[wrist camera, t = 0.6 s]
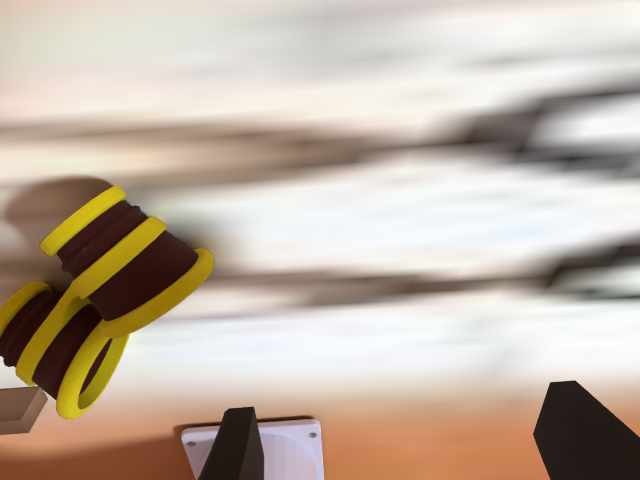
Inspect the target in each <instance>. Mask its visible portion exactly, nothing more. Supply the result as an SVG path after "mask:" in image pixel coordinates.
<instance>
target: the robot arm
mask: <svg viewBox="0 0 640 480" xmlns="http://www.w3.org/2000/svg"><path fill="white" fill-rule="evenodd" d="M533 436H534V438H535V441H536V444H537V446H538V449H539V452H540V454H541V457H542V460H543V462H544V465H545V467H546V470H547V472H548V475H549V477H550V479H551V480H640V437H639V436H638V435H636V434H635V433H634V432H633V431H632V430H631V429H630V428H628V427H627V426H626V425H625V424H624V423H623V422H622V421H620V420H619V419H618V418H617V417H616V416H615V415H614V414H613V413H611V412H610V411H609V410H608V409H607V408H606V407H605V406H603V405H602V404H601V403H600V402H599V401H598V400H597V399H596V398H594V397H593V396H592V395H591V394H590V393H589V392H588V391H587V390H585V389H584V388H583V387H582V386H581V385H580V384H579V383H577V382H576V381H562V382H550V385H549V388H548V391H547V394H546V397H545V400H544V403H543V406H542V409H541V412H540V415H539V418H538V421H537V424H536V427H535V430H534V433H533ZM181 440H182V443H183V446H184V448H185V451H186V454H187V457H188V460H189V463H190V465H191V468H192V471H193V474H194V477H195V479H196V480H324V470H323V456H322V442H321V427H320V422H319V421H318V420H315V419H304V420H290V421H276V422H263V423H257V419H256V414H255V410H254V407H243V408H231V409H228V410H227V411H225V413H224V416H223V419H222V422H221V425H220V426H208V427H194V428H186V429H185V430H183V432H182V435H181Z"/></svg>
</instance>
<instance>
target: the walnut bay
mask: <svg viewBox="0 0 640 480" xmlns="http://www.w3.org/2000/svg"><path fill="white" fill-rule="evenodd" d="M47 400H48V399H47V397H46V395H45V393H44V392H43V390H42V388H40V387H31V388H17V389H2V390H0V435H6V434H20V433H29V432H30V430H31V428H32V426H33V425H34V423H35V421H36V419H37V417H38V416H39V414H40V412H41V410H42V409H43V407H44V405H45V403H46V402H47Z"/></svg>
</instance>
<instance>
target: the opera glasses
mask: <svg viewBox="0 0 640 480" xmlns="http://www.w3.org/2000/svg"><path fill="white" fill-rule="evenodd" d="M125 198H126V194H125V192H124V191H123V190H122V189H121V188H120V187H119V186H113V187H111V188H110V189H108V190H106V191H104V192H103V193H101V194H100V195H98V196H97V197H95V198H94V199H93V200H91V201H90V202H88V203H87V204H86V205H84V206H83V207H82V208H80V209H79V210H78V211H76V212H75V213H74V214H73V215H71V216H70V217H69V218H68V219H66V220H65V221H64V222H63V223H62V224H60V225H59V226H58V227H57V228H56V229H55V230H53V231H52V232H51V233H50V234H49V235H48V236H47V237H46V238H45V239H44V240H43V241H42V242H41V244H40V245H39V247H40V249H41V250H42V251H43V252H44V253H45V254H47V255H49V256H54V255H56V254H57V255H58V256H59V258H60V259H61V261H62V263H63V264H62V270H63V271H69V272H70V273H71V274H72V276H73V277H74V279H75V280H74V281H73V282H72V284H71V285H70V287H69V288H68V290H67V291H66V292H65V293H64V292H57V293H52V290H51V287H50V286H49V285H48V284H46V283H44V282H42V281H33V282H31V283H28V284H27V285H25V286H24V287H22V288H21V289H19V290H18V291H17V292H16V293H15V294H14V295H13V296H12V297H10V298H9V299H8V300H7V301H6V303H5V304H4V305H3V306H2V307H1V308H0V356H2V357H3V358H4V364H5V365H6V366H8V367H11V366H14V367H16V375H17V376H18V377H19V378H20V379H21V380H22V381H24V382H25V383H26V384H27V385H28V386H34V385H36V384H37V385H38V386H39V387H40V388H42V389H43V390H44V391H45V392H47V393H48V394H49V395H50V396H51V397H53V398H54V399H55V400H56V410H57V412H58V414H59V416H61V417H63V418H65V419H74V418H77V417H79V416H81V415H82V414H83V413H84V412H86V411H87V410H88V409H89V408H90V407H91V406H92V405H93V404H94V403H95V401H96V400H97V399H98V398H99V396H100V395H101V393H102V392H103V390H104V389H105V387H106V386H107V384H108V382H109V380H110V378H111V376H112V375H113V373H114V371H115V369H116V367H117V365H118V363H119V361H120V358H121V356H122V354H123V352H124V349H125V347H126V344H127V341H128V339H129V336H130V333H132V332H135V331H137V330H139V329H141V328H142V327H144V326H146V325H148V324H149V323H151V322H152V321H154V320H156V319H157V318H159V317H160V316H162V315H164V314H165V313H167V312H168V311H169V310H171V309H172V308H174V307H175V306H176V305H178V304H179V303H180V302H182V301H183V300H184V299H185V298H186V297H188V296H189V295H190V294H191V293H192V292H194V291H195V290H196V289H197V288H198V287H199V286H200V285H201V284H202V283H203V282H204V281H205V280H206V279H207V277H208V276H209V275H210V273H211V272H212V270H213V267H214V264H215V261H214V257H213V255H212V253H210V252H209V251H208V250H206V249H203V248H198V249H194V250H192V249H191V248H190V247H188V246H187V245H185V244H184V243H183V242H181V241H180V240H178V239H177V238H175V237H174V236H173V235H171V234H170V233H168V232H167V231H166V230H165V229H166V228H167V227H168V226H167V225H166V224H165V223H163V222H162V221H160V220H159V219H157V218H156V217H154V216H150V217H149V218H147V217H146V216H144V215H143V214H142V213H141V212H140V207H139V206H131V205H129V204H127V203H126V202H125V201H123V200H124V199H125ZM87 297H88V298H89V299H88V298H87Z"/></svg>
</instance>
